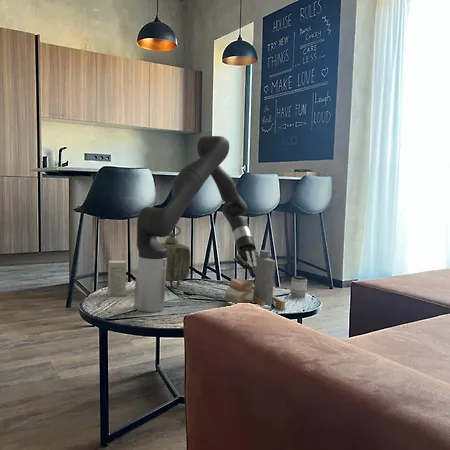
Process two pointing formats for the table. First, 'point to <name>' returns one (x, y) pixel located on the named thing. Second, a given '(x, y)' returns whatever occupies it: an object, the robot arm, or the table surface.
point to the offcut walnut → (237, 300)
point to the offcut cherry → (241, 285)
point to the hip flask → (264, 277)
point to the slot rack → (279, 302)
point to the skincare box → (116, 278)
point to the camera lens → (298, 286)
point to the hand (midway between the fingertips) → (254, 276)
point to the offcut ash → (239, 294)
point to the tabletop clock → (176, 259)
